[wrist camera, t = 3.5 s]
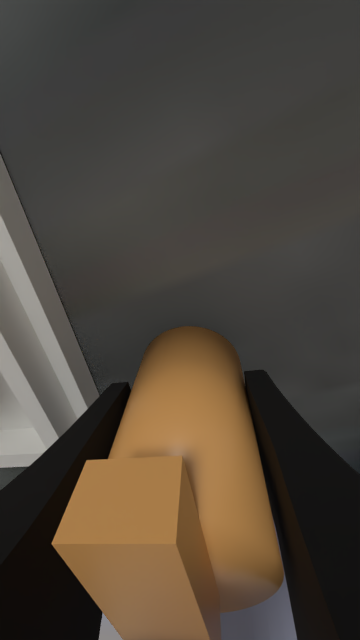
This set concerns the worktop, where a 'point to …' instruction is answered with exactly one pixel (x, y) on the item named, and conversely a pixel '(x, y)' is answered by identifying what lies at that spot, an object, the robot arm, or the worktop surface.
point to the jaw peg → (176, 499)
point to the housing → (33, 345)
